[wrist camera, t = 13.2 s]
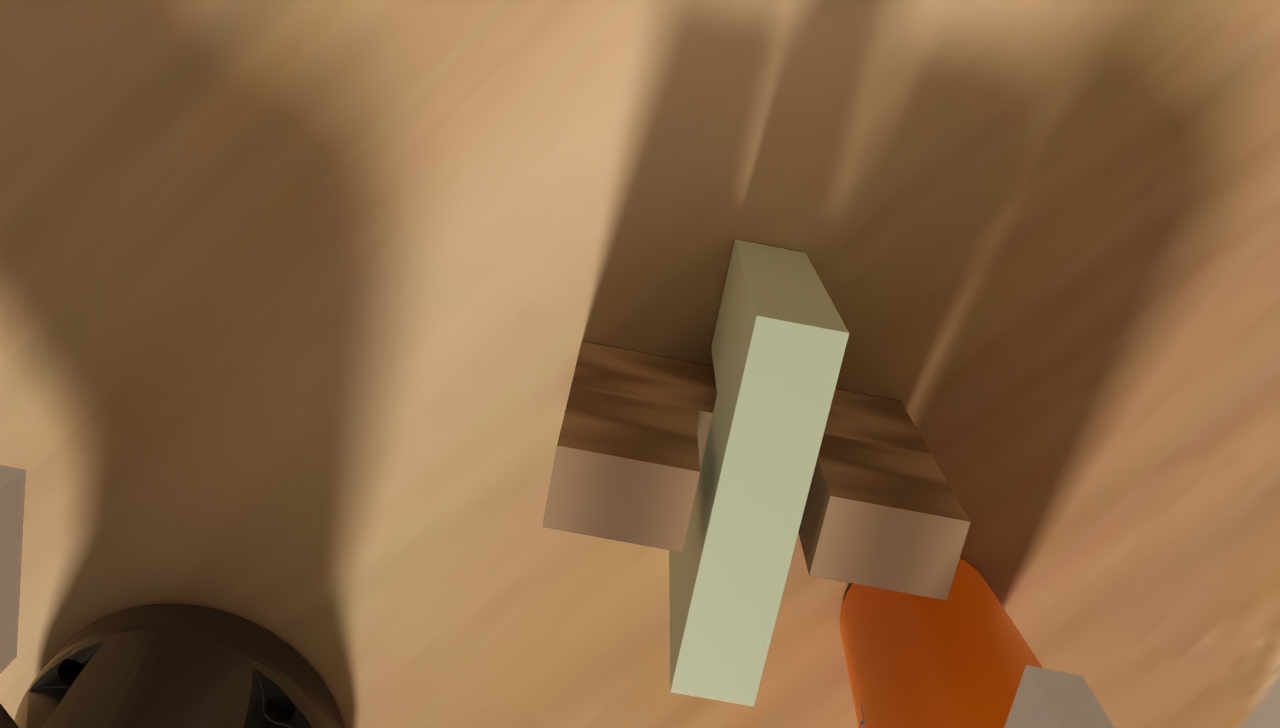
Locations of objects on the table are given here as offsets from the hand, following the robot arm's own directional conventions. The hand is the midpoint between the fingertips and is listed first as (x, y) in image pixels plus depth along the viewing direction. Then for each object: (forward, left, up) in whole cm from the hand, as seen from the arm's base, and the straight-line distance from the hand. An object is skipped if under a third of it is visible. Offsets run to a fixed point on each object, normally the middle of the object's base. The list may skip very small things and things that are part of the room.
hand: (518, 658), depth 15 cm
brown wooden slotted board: (+7, -8, -34) cm, 36 cm away
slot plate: (+7, -7, -34) cm, 36 cm away
